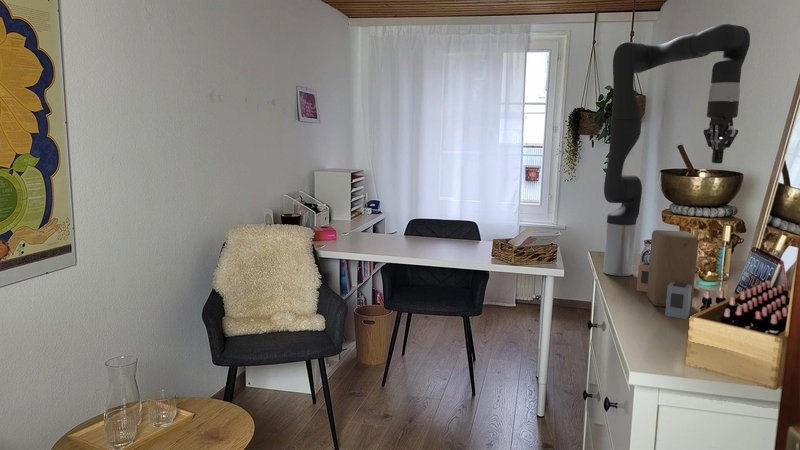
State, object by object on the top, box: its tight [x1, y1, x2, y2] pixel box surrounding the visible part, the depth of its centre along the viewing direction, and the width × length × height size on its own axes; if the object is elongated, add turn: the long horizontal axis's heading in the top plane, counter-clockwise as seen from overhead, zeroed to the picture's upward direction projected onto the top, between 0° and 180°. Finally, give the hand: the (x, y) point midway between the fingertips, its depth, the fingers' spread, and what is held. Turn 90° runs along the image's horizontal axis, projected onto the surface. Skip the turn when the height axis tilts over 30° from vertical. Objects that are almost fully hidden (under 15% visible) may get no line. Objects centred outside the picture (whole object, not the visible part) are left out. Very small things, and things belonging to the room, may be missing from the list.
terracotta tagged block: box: [636, 261, 650, 293], centre depth 174 cm, size 5×5×8 cm
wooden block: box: [646, 229, 699, 309], centre depth 160 cm, size 10×10×20 cm
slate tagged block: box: [664, 282, 692, 320], centre depth 150 cm, size 5×5×8 cm
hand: (717, 163), depth 162 cm, fingers closed
